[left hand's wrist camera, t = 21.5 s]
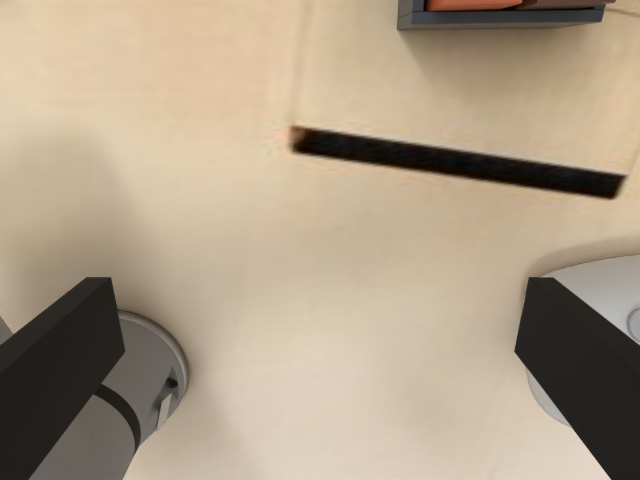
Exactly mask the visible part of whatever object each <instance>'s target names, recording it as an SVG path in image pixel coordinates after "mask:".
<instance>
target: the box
mask: <svg viewBox="0 0 640 480" xmlns="http://www.w3.org/2000/svg"><path fill="white" fill-rule="evenodd" d="M605 5H606V4H604V5H599V6H594V7H589V8H584V9H579V10H510V11H433V12H423V7H424V0H399V5H398V21H397V30H446V29H525V28H562V27H569V26H576V25H583V24H590V23H597V22H601V21H602V17H603V13H604V10H603V9H605Z"/></svg>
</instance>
